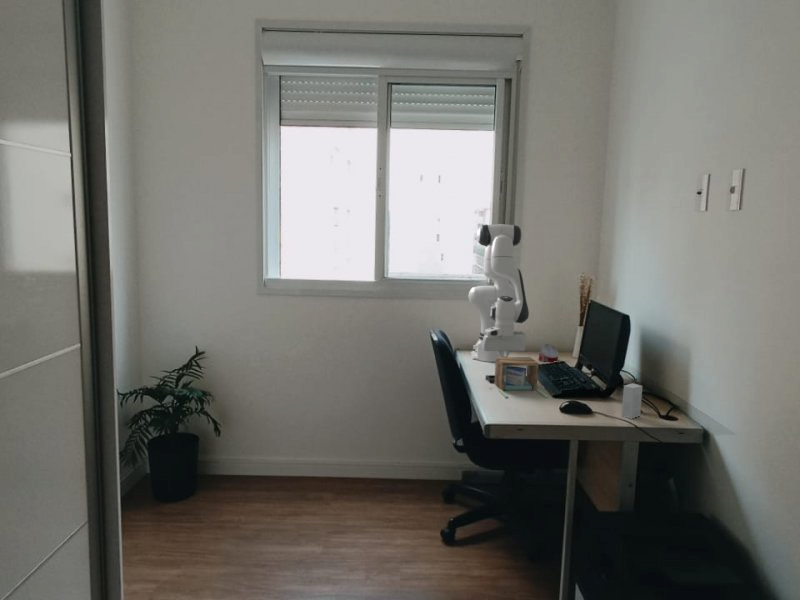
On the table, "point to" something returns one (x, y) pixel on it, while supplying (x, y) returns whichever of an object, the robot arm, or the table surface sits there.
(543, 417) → the table surface
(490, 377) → the pit left
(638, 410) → the skincare box
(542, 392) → the bay marker right
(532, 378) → the tunnel
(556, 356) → the canned food
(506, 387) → the sled
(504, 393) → the bay marker left
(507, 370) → the medicine box
